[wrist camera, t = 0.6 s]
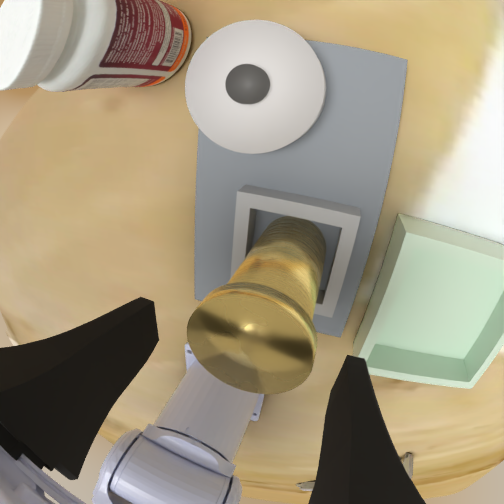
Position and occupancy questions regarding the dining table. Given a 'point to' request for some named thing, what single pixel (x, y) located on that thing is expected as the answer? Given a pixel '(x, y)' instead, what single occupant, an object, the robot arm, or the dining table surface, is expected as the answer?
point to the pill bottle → (90, 43)
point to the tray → (434, 306)
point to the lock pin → (264, 312)
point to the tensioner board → (291, 151)
